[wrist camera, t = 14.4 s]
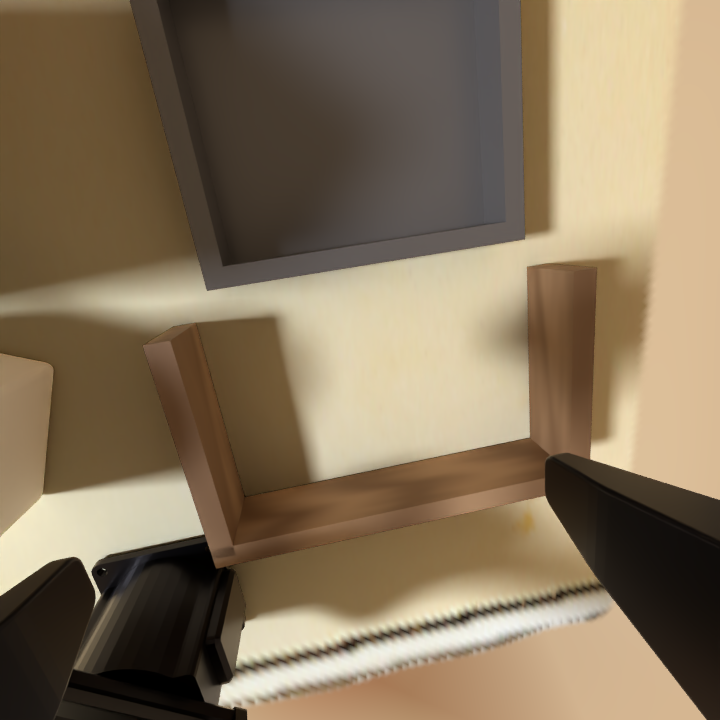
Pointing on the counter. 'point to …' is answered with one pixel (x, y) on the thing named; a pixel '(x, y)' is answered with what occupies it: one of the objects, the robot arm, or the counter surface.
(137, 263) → the counter surface
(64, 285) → the counter surface
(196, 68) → the box
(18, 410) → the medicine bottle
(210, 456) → the cubby
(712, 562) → the robot arm
